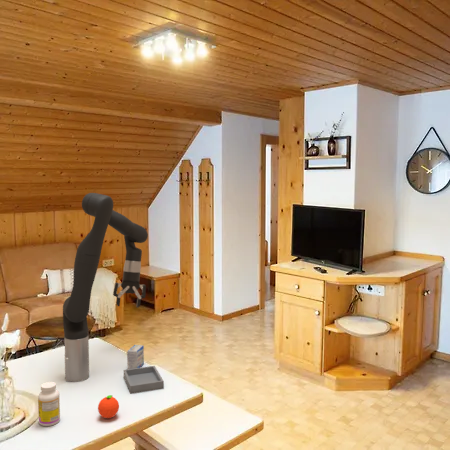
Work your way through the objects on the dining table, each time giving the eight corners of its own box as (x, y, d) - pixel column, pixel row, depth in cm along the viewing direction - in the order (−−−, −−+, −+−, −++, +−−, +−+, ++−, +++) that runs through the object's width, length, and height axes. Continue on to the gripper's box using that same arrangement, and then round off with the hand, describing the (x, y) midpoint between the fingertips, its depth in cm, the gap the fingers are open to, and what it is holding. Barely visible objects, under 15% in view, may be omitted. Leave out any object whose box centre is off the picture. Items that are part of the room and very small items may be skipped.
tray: (130, 393, 177) (130, 386, 177) (123, 377, 191) (123, 369, 191) (163, 388, 181) (163, 381, 181) (154, 372, 196) (154, 365, 196)
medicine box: (137, 371, 197) (136, 351, 196) (127, 370, 198) (126, 350, 197) (144, 364, 205) (143, 345, 204) (134, 363, 206) (134, 344, 205)
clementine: (102, 410, 164) (102, 390, 164) (122, 410, 164) (121, 391, 163) (95, 421, 156) (95, 401, 156) (116, 422, 156) (115, 402, 155)
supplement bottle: (42, 417, 159) (41, 380, 158) (62, 416, 160) (61, 380, 159) (36, 427, 153) (34, 389, 151) (57, 426, 153) (56, 388, 152)
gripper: (117, 270, 207) (113, 307, 207) (149, 272, 212) (145, 308, 211) (115, 269, 215) (111, 304, 214) (146, 271, 219) (142, 306, 218)
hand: (128, 306), depth 212 cm, fingers open, 8 cm apart
